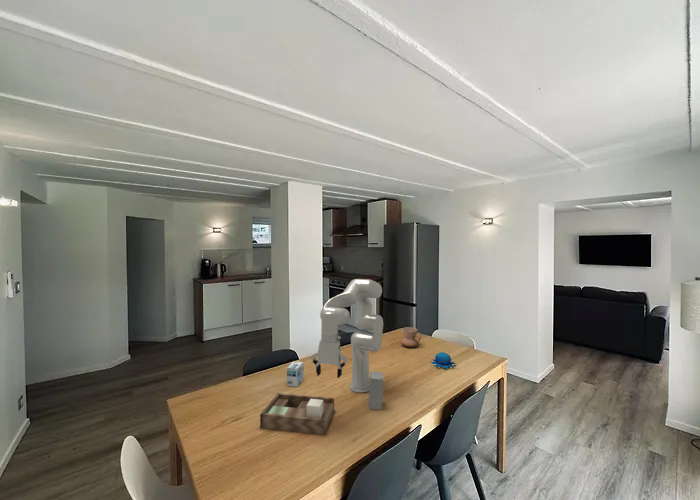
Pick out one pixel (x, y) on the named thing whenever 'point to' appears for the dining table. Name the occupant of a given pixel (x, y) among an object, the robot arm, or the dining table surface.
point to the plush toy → (443, 360)
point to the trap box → (296, 414)
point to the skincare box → (376, 390)
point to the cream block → (315, 408)
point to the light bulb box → (295, 373)
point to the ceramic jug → (410, 337)
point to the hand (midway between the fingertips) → (328, 375)
